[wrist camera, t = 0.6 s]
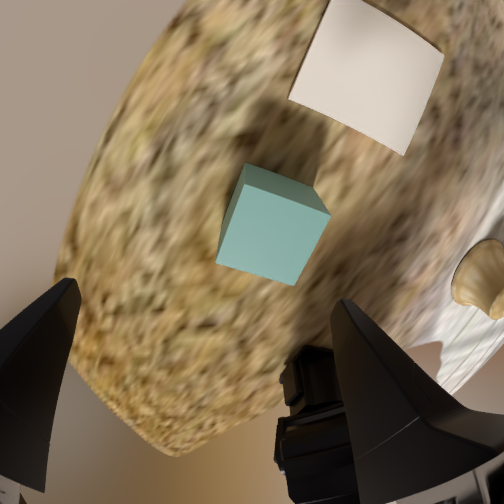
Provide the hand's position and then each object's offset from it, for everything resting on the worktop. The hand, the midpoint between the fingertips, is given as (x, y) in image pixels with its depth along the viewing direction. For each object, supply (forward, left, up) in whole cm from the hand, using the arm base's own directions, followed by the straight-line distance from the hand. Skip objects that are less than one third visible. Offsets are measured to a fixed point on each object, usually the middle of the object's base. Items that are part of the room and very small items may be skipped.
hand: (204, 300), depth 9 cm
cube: (-3, +1, -12) cm, 13 cm away
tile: (-6, -11, -12) cm, 18 cm away
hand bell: (-27, -1, -12) cm, 30 cm away
